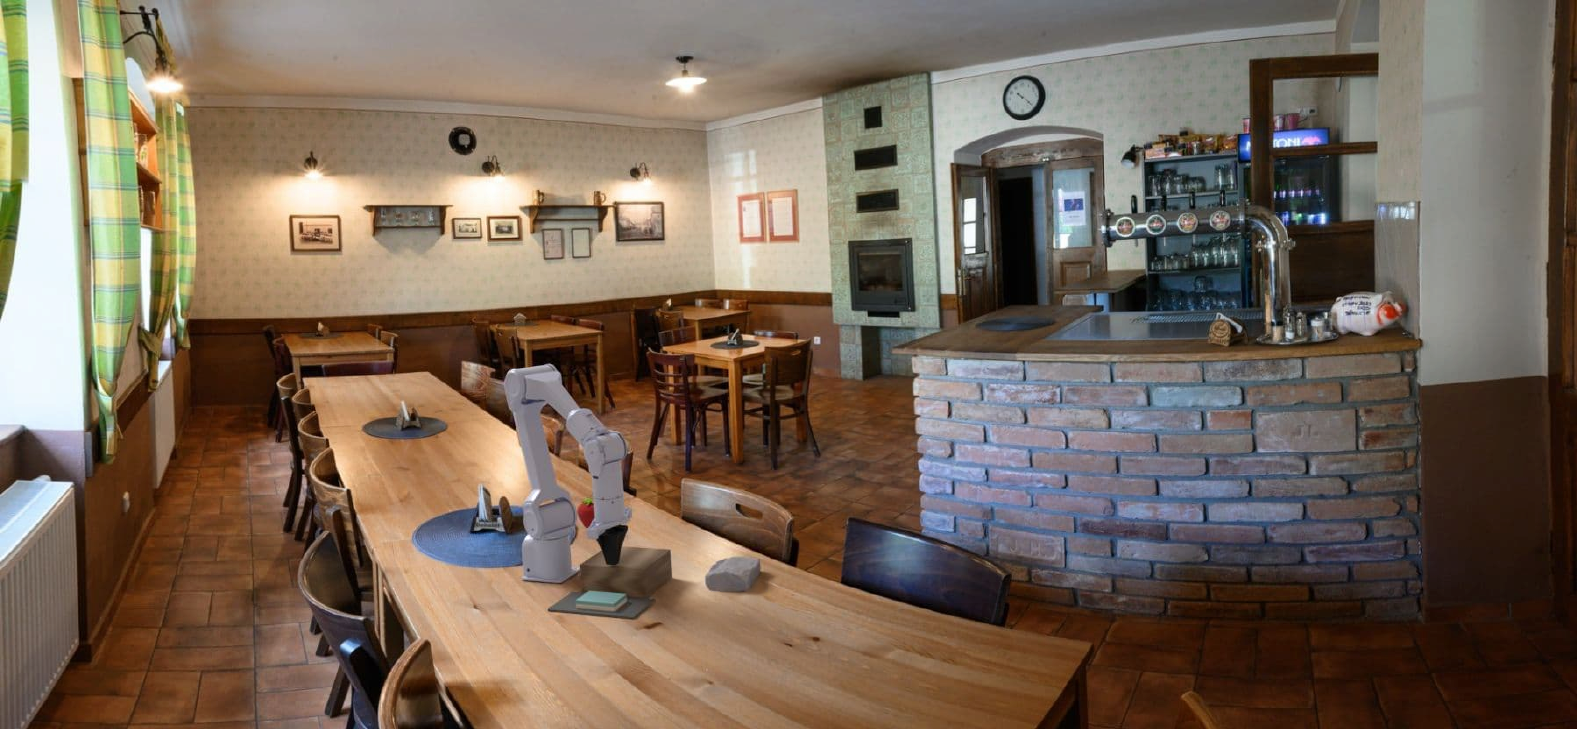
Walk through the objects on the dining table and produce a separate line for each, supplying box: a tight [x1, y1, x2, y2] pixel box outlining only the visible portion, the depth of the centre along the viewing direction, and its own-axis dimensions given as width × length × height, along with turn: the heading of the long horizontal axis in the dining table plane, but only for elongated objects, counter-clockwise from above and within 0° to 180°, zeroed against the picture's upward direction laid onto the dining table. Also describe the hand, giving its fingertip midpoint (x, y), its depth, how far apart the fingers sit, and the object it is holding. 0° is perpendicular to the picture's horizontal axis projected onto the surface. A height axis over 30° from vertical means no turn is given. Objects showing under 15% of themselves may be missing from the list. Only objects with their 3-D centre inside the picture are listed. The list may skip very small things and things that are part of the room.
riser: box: [579, 545, 673, 598], centre depth 184 cm, size 14×12×6 cm
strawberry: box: [576, 492, 595, 529], centre depth 219 cm, size 6×8×10 cm
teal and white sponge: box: [576, 591, 627, 611], centre depth 173 cm, size 8×5×2 cm, turn 72°
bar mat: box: [547, 590, 656, 620], centre depth 174 cm, size 18×9×1 cm, turn 72°
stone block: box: [704, 556, 762, 592], centre depth 185 cm, size 12×5×10 cm
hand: (612, 563), depth 178 cm, fingers closed
